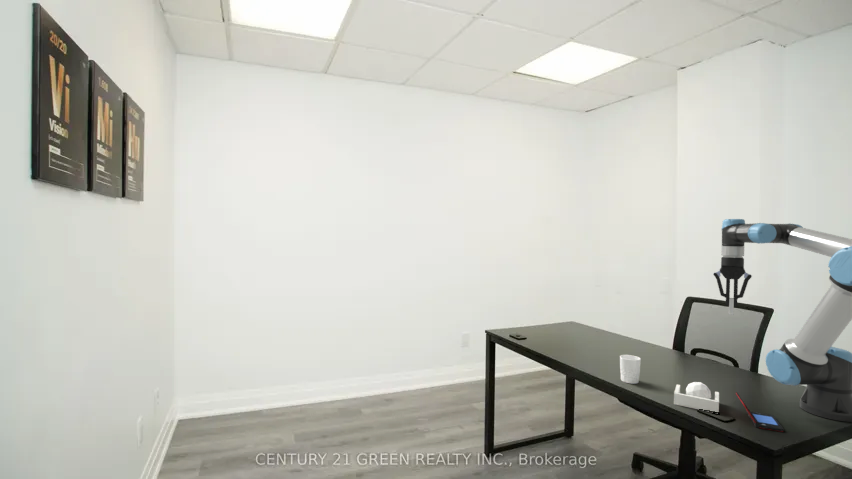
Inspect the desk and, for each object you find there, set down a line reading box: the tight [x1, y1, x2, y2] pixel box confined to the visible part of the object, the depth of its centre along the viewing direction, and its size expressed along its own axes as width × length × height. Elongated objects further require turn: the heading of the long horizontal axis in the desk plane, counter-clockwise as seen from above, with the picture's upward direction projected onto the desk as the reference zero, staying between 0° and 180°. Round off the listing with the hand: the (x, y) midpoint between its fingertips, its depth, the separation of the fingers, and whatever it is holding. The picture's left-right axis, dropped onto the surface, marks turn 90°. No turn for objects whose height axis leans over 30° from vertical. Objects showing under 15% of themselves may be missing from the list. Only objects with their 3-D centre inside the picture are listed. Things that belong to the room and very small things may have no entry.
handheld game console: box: [735, 391, 785, 433], centre depth 139 cm, size 12×11×7 cm
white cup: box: [619, 354, 642, 385], centre depth 176 cm, size 8×8×10 cm
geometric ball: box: [685, 381, 712, 399], centre depth 154 cm, size 8×8×8 cm
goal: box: [673, 384, 720, 412], centre depth 153 cm, size 11×13×4 cm
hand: (731, 314), depth 172 cm, fingers closed
